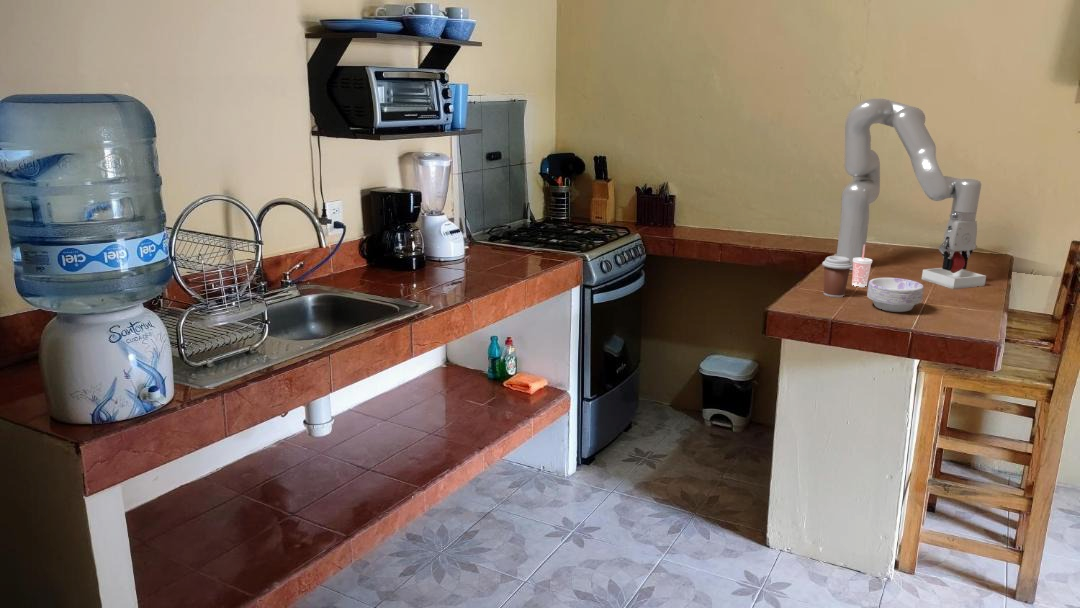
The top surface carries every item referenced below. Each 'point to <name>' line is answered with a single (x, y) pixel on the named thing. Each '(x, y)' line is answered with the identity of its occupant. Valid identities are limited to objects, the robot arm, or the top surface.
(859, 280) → the beverage cup
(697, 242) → the top surface
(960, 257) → the onion
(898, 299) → the paper bowls
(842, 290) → the coffee cup
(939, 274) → the box
